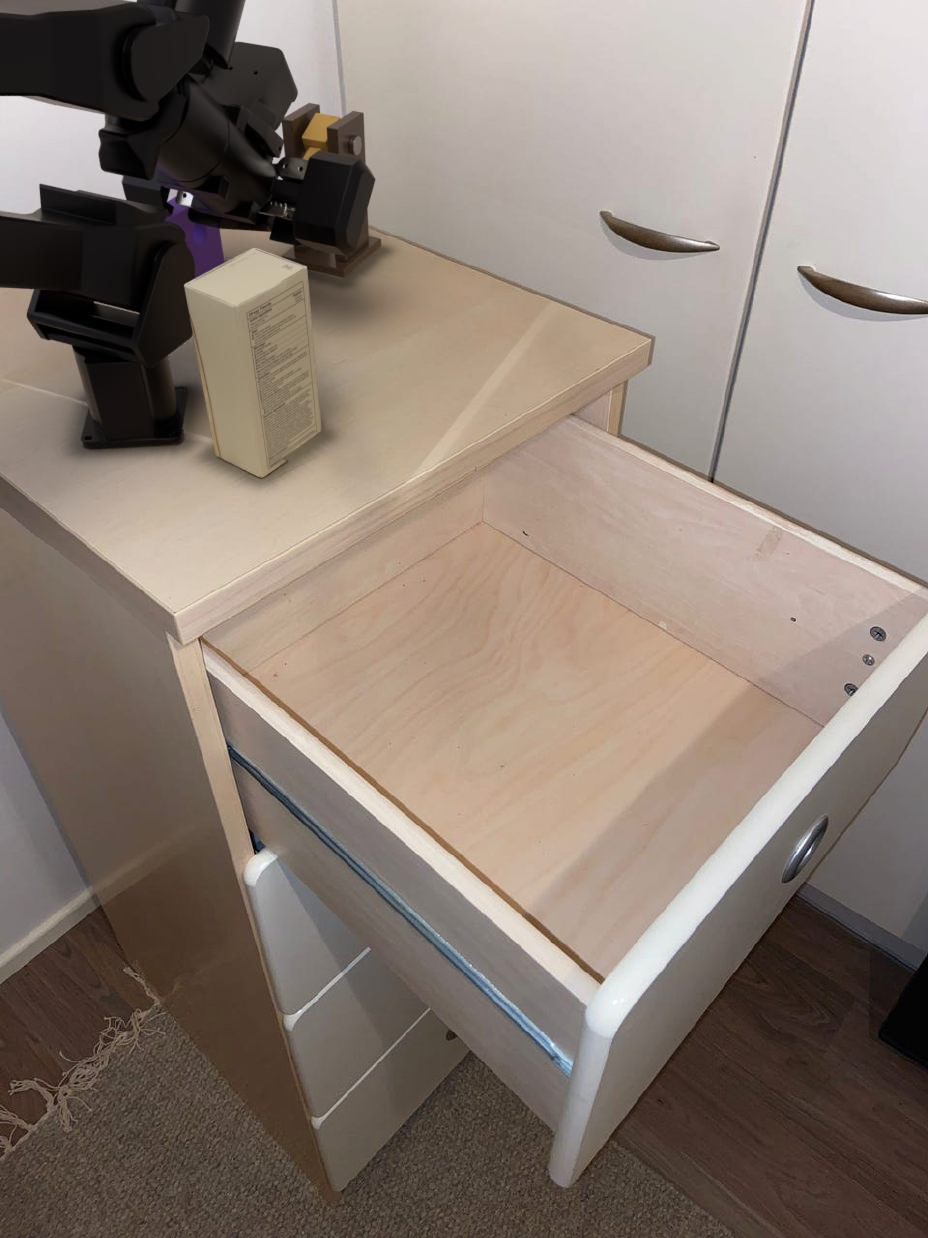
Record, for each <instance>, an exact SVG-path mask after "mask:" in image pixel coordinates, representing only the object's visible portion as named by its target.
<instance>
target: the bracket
mask: <svg viewBox="0 0 928 1238" xmlns="http://www.w3.org/2000/svg"><path fill="white" fill-rule="evenodd" d="M175 199H176V196H174V197H172V198H171V199H168V201H167V202H168V203H170V204H171V205H172V206H174V210H173V214H172V215H171V216H170V217H168V216H167V217H166V220H165V221H169V222H172V223H174V224H176V225H178V226H180V227H181V228H182V229H183V230H184V232H185V235H186V238H185V241H186V243H187V247H188V248H189V249H190V251H191V253H192V255H193V258H194V262H195V278H197V277H199V276H201V275H203V274H205V273H206V272H208V271H210V270H213V269H214V268H216V267H218V266H220V265H221V264H223V263H225V262H226V261H225V257H224V250H223V242H222V237H221V229H219V228H214V227H210V226H205V225H201V224H196V223H193V222H191V221H190V220H189V218H188V210H189V208H188V207H184V206H180V205H178V204H177V203H176V202H175Z"/></svg>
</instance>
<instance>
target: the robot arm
mask: <svg viewBox="0 0 928 1238" xmlns="http://www.w3.org/2000/svg"><path fill="white" fill-rule="evenodd" d="M246 1H247V0H136V1H133V0H0V97H21V98H25V99H29V100H32V101H33V100H34V101H36V102H41V103H45V104H49V105H53V106H57V107H63V108H68V109H74V110H79V111H83V112H89V113H94V114H99V115H103V116H104V126H103V127H102V128H100V129H99V130H98V132H97V134H98V138H99V148H98V154H97V155H98V161H99V166H100V169H101V171H102V172H104V173H108V174H113V175H118V176H121V177H122V178H121V187H122V190H123V195H124V198H125V199H123V198H118V197H113V196H109V195H106V194H105V195H104V194H101V193H97V192H92V191H88V190H87V191H86V190H82V189H77V190H72V189H68V188H63V187H58V186H53V185H49V184H45V183H39V184H38V185H39V186H38V188H39V189H38V190H39V201H40V207H39V208H38V209H36V210H34V211H33V212H31V213H18V212H11V211H4V210H0V288H2V289H17V290H18V289H20V290H32V293H31V294H32V295H31V298H30V301H29V305H28V307H27V311H26V318H27V319H26V320H27V321H28V322H29V324H30V325H31V327H32V328H33V329H34V331H35V333H36V334H37V335H38V337H39V338H40V339H41V340H45V341H54V342H58V343H61V344H65V345H69V346H71V348H72V351H73V355H74V359H75V362H76V365H77V366H76V367H77V369H78V374H79V377H80V380H81V383H82V387H83V392H84V394H85V399H86V402H87V405H88V409H87V414H86V417H85V421H84V424H83V427H82V432H81V435H80V443H81V446H82V447H83V448H108V447H111V448H112V447H129V446H130V447H131V446H151V445H152V446H153V445H154V446H155V445H174V444H178V443H181V442H182V441H183V439H184V432H185V431H184V429H183V427H184V421H185V414H186V413H185V412H186V407H187V398H188V392H189V389H188V387H187V386H183V385H175V384H174V378H173V373H172V372H173V371H172V368H171V364H170V358H169V355H171V354H172V353H174V351H176V350H177V349H178V348H180V347H181V346H183V345H184V344H185V343H186V342H187V341H188V340H190V339H191V338H192V337H193V331H192V326H191V320H190V314H189V309H188V304H187V299H186V294H185V288H184V285H185V284H186V283H188V282H190V281H192V280H193V279H195V262H194V258H193V255H192V253H191V251H190V249H189V248H188V247H187V243H186V241H185V238H186V235H185V232H184V230H183V229H182V228H181V227H180V226H178V225H176V224H174V223H172V222H169V221H165V220H166V217H167V216H168V217H170V216H171V215H172V214H173V210H174V206H172V205H171V204H170V203H168V201H169V198H170V197H169V196H170V193H171V190H174V191H177V192H176V195H175V197H176V199H175V202H176V203H177V204H178V205H180V206H184V207H188V208H189V210H188V218H189V220H190V221H191V222H193V223H196V224H201V225H205V226H210V227H214V228H219V229H220V230H233V231H248V232H249V231H250V232H262V233H263V232H264V233H270V234H269V237H268V238H269V239H268V240H270V241H273V242H277V243H280V244H281V243H282V244H285V245H290V246H293V247H294V246H304V245H306V246H308V247H311V248H313V249H315V250H320V251H324V252H329V253H333V254H338V255H342V256H348V255H350V254H351V253H353V252H354V251H356V248H357V245H358V241H359V237H360V234H361V230H362V227H363V223H364V219H365V216H366V212H367V209H368V208H369V205H370V202H371V197H372V194H373V190H374V187H375V183H376V178H375V176H374V174H373V172H372V170H371V168H369V166H368V165H367V163H366V164H365V163H364V162H363V160H362V159H360V158H355V157H350V156H345V155H340V154H335V153H329V152H324V151H319V150H318V151H317V152H316V153H314V154H313V155H312V156H310V157H309V160H305V159H300V158H295V157H290V156H285V155H284V156H283V157H281V155H282V151H283V149H284V140H283V137H281V136H280V135H279V133H277V132H276V131H277V130H278V129H279V128H280V126H281V125H282V120H283V119H284V117H286V116H287V113H288V111H289V109H290V107H291V106H292V103H295V102H296V100H297V98H298V95H299V90H298V88H297V85H296V82H295V79H294V77H293V74H292V72H291V69H290V66H289V63H288V61H287V59H286V57H285V54H284V52H283V50H282V49H281V48H278V47H274V46H269V45H264V44H258V43H257V44H256V43H251V42H245V41H236V39H237V36H238V31H239V27H240V25H241V24H240V23H241V19H242V16H243V12H244V8H245V4H246ZM274 158H276V159H279V161H278V162H277V163H274ZM269 199H270V201H269ZM261 214H265V215H270V216H275V219H274V223H273V226H272V230H271V232H270V231H269V230H268V229H267V228H266V226H265V225H264V223H263V221H262V217H261ZM181 389H182V390H183V391H179V390H181Z"/></svg>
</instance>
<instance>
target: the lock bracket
mask: <svg viewBox="0 0 928 1238" xmlns="http://www.w3.org/2000/svg"><path fill="white" fill-rule="evenodd" d="M315 113H320V114H321V106H320V104H317V103H313V102H308V103H306V104H304V105H303V106H301V107H299V108H298V109H295V110H294V111H292V112H291V113H289V114H286V115H285V117H284V119H283V120H282V122H281V130H282V139H283V140H284V144H283V152H284V157H285V156H290V157H295V158H300V159H303V157H304V156H305V154H306V150H305V147H304V144H303V141H302V136H303V134H304V132H305V130H306V129H307V127H308V125H309V124H310V122H311V120H312V118H313V117H314V115H315ZM365 137H366V136H365V113H364V112H362V111H357V110H352V111H350V112H349V113H347V114H346V115H344V116H342V117H340V119H339V120H338V121H336V122H334V123H333V124H331V125H330V126H328V127H327V142H328V152H329V153H335V154H340V155H345V156H350V157H355V158H360V159H362V160H363V162H364V163H365V164H366V165H367V162H366V161H367V160H366V158H367V157H366V138H365ZM381 246H382V238H381V237H376V236H372V235H370V234H369V210H368V209H367V212H366V216H365V219H364V223H363V227H362V230H361V234H360V237H359V241H358V245H357V248H356V251H354V252H353V253H351V254H350V255H348V256H342V255H338V254H333V253H329V252H324V251H320V250H315V249H313V248H311V247H308V246H306V245H304V246H294V245H293V246H292V247H291V248H290V249H288V250H287V251H286V252H285V253H283V254H282V255H281V256H280V257H282V258H284V259H287V260H290V261H292V262H295V263H298V264H300V265H303V266H307V270H308V271H313V272H318V273H322V274H327V275H330V276H331V275H332V276H336V277H338V278H339V277H340V278H345V277H346V276H348V275H349V274H350V273H351V272H352V271H353V270H355V269H356V268H357V267H358V266H359V265H360V264H362V263H363V262H364V261H365V260H367V259H368V258H369V257H370V256H371V255H373V253H374V252H376V251H377V250H378V249H379V248H380V247H381Z"/></svg>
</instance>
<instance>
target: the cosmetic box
mask: <svg viewBox="0 0 928 1238" xmlns="http://www.w3.org/2000/svg"><path fill="white" fill-rule="evenodd" d="M224 262H225V263H223V264H221V265H220V266H218V267H216V268H214V269H213V270H210V271H208V272H206V273H205V274H203V275H201V276H199V277H197V278H195V279H193V280H192V281H190V282H188V283H186V284H185V285H184V288H185V294H186V299H187V304H188V309H189V314H190V320H191V326H192V331H193V335H192V337H193V341H194V345H195V346H194V348H195V351H196V358H197V364H198V369H199V373H200V374H199V375H200V378H201V386H202V390H203V391H202V392H203V395H204V401H205V406H206V412H207V418H208V424H209V428H210V435H211V439H212V444H213V450H214V455H215V456H216V457H217V458H220V459H222V460H224V461H225V462H228V463H230V464H232V465H233V466H235V467H236V468H240V469H241V470H243V471H245V472H247V473H250V474H251V475H254V476H256V477H258V478H262V479H263V478H264V477H266V476H268V475H269V474H271V473H272V472H274V471H275V470H276V469H279V467H280V466H282V465H283V464H284V463H287V462H288V459H285V457H287V456H288V455H290V454H291V453H293V452H294V451H296V450H297V449H298V448H299V447H301V446H302V445H304V444H305V443H307V442H308V441H310V439H312V438H314V437H315V436H317V434H319V433H320V432H322V421H321V410H320V409H321V408H320V399H319V387H318V376H317V365H316V354H315V342H314V330H313V319H312V308H311V307H312V306H311V297H310V285H309V284H310V283H309V275H308V274H309V273H308V269H307V266H303V265H300V264H298V263H295V262H292V261H290V260H287V259H284V258H282V257H281V256H280V255H276V254H275V253H271V252H268V251H265V250H262V249H260V248H257V247H253V248H250V249H249V250H246V251H244V252H242V253H240V254H239V255H237V256H235V257H233V258H231V259H229V260H227V261H224Z"/></svg>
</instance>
